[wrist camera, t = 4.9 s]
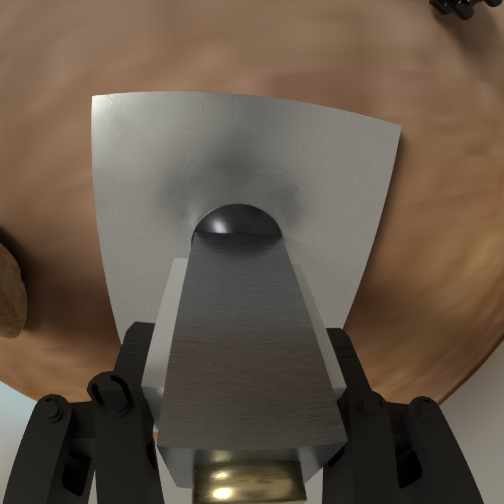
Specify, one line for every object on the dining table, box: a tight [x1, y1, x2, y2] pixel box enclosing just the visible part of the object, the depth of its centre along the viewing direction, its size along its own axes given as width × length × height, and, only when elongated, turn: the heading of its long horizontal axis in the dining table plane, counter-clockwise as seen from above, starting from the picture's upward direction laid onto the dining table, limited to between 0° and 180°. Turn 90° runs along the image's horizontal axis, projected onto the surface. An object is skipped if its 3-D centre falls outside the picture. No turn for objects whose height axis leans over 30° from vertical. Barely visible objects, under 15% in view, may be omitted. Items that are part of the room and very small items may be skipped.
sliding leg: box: [157, 232, 348, 504], centre depth 10 cm, size 4×4×11 cm
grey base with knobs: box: [92, 91, 401, 432], centre depth 14 cm, size 14×28×12 cm, turn 174°
